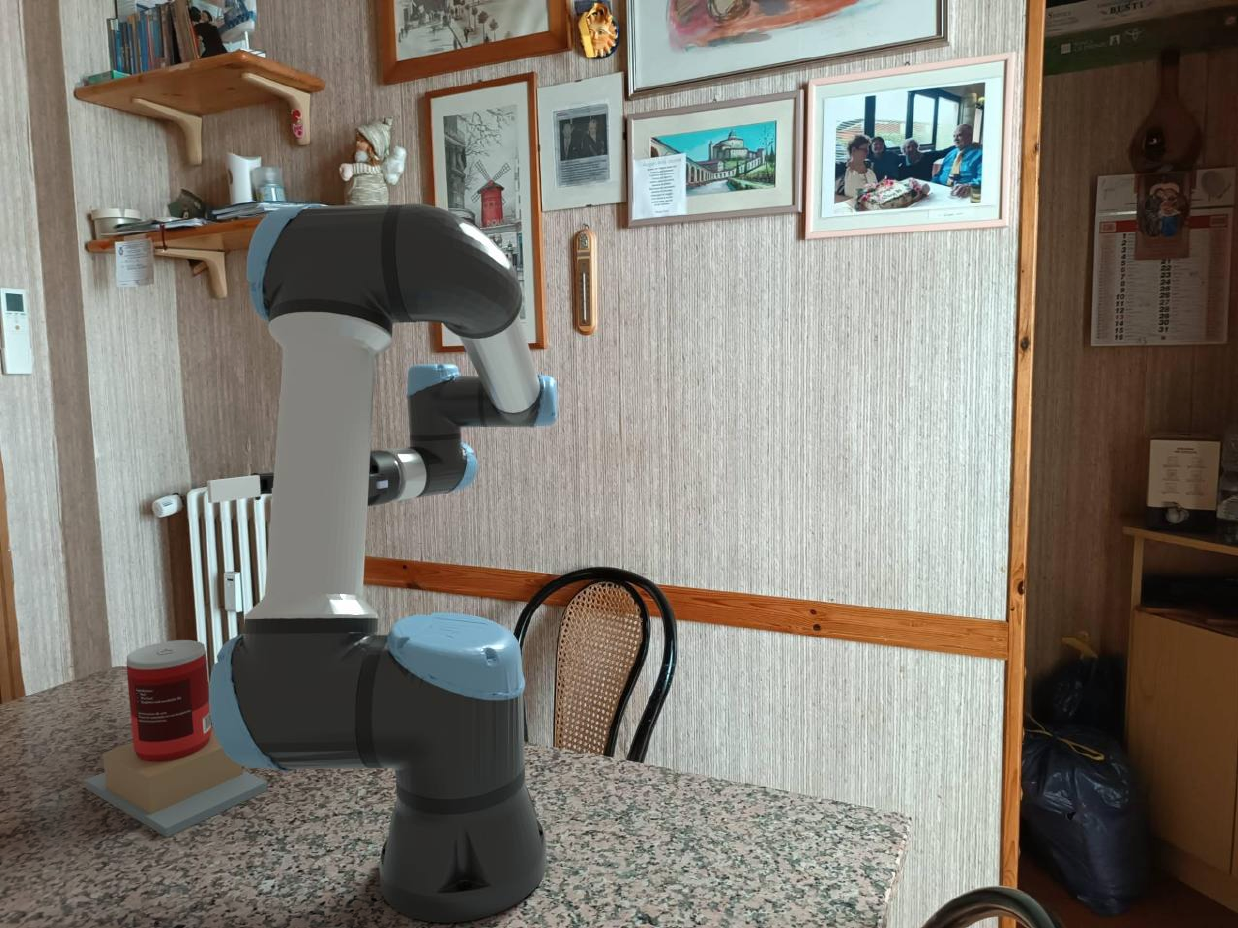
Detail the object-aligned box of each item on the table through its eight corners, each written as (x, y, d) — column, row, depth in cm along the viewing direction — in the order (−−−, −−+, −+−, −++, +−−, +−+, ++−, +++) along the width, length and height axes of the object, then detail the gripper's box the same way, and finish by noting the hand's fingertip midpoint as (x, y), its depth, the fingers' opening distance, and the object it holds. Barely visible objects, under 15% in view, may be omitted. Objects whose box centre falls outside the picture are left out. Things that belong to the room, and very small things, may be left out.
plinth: (268, 790, 89) (265, 747, 88) (166, 837, 80) (163, 790, 79) (183, 750, 99) (180, 711, 98) (85, 788, 90) (81, 745, 89)
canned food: (191, 725, 94) (184, 635, 93) (226, 742, 90) (219, 647, 88) (120, 749, 88) (112, 653, 87) (153, 769, 84) (145, 668, 82)
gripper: (448, 509, 105) (306, 537, 87) (330, 496, 119) (187, 518, 101) (446, 453, 104) (302, 469, 87) (327, 446, 118) (182, 459, 101)
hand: (239, 495), depth 94 cm, fingers open, 13 cm apart
